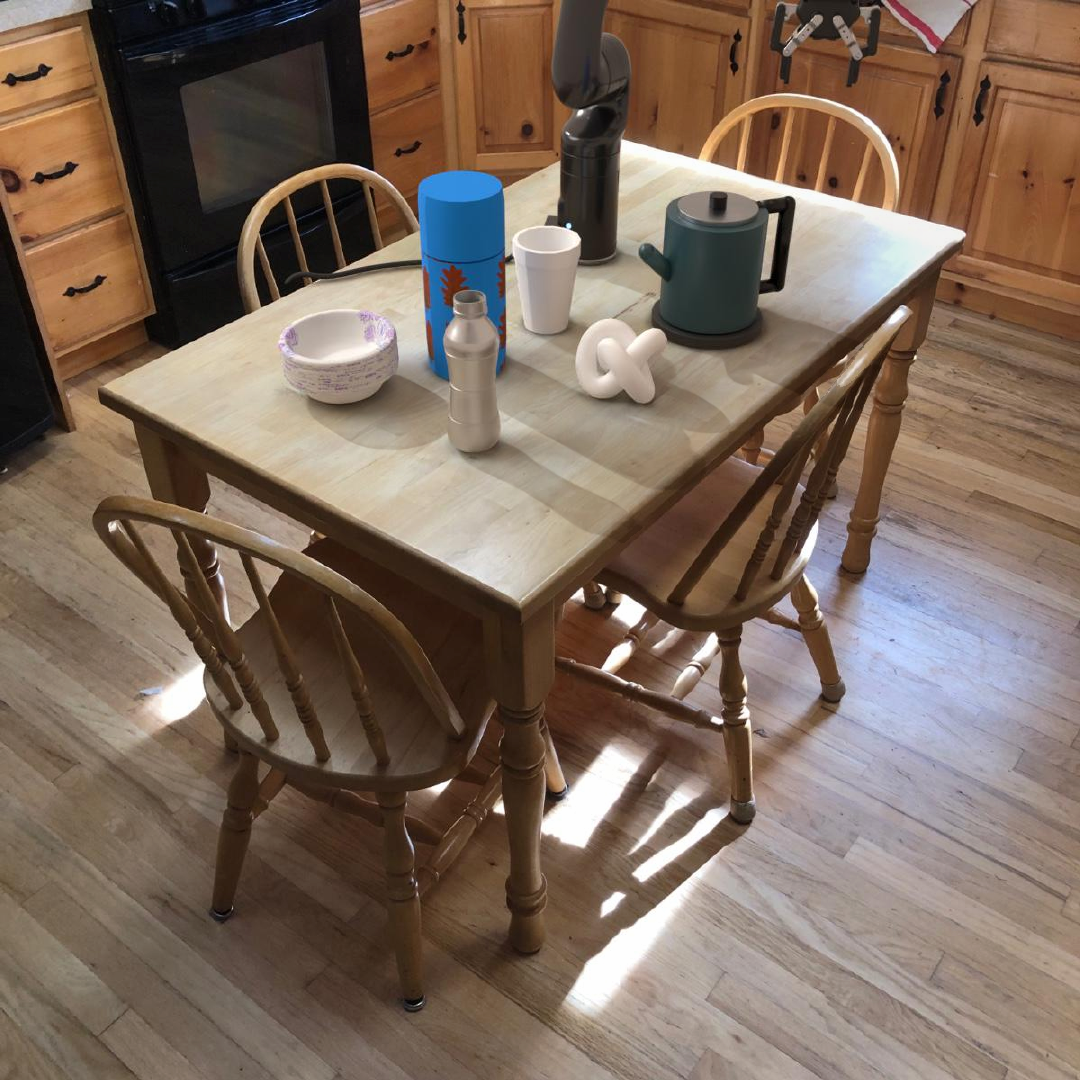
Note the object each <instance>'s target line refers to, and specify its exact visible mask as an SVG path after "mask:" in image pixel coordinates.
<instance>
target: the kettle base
mask: <svg viewBox="0 0 1080 1080" xmlns="http://www.w3.org/2000/svg"><path fill="white" fill-rule="evenodd" d="M659 302H660V298H658V299H657V301H656V302H654V304H653V306H652V308H651V319H650V321H651V326H652V328H656V329H660V330H661V331H663V332H664V333H665V336H666V339H667V341H668V342H672V343H674V344H677V345H680V346H683V347H688V348H694V349H700V350H726V349H733V348H737V347H740V346H743V345H746V344H748V343H751V342H752V341H754V340H755V339H756V338H758V336H759V335H760V334H761V331H762V328H763V323H764V322H763V321H764V314H763V313H762V309H761V308H760V307H759V305H758V306H757V314H756V318H755V320H754V321H753V323H752V324H750V325H749V326H747V327H746V328H744V329H741V330H738V331H735V332H730V333H723V334H703V333H696V332H691V331H687V330H683V329H680V328H678V327H675V326H673V325H671V324H670V323H668V322H667V321H666V320H664V319H663V317H662V316H661V314H660V312H659Z"/></svg>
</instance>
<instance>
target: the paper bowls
mask: <svg viewBox="0 0 1080 1080" xmlns="http://www.w3.org/2000/svg"><path fill="white" fill-rule="evenodd" d="M277 346H278V352H279V359H280V362H281V363H280V364H281V369H282V372H283V376H284V379H285V380H286V382H288V383H289V385H291V386H292V387H293V388H296V389H297V390H299V391H301V392H304V393H306V395H307V396H309V397H310V398H312V399H313V400H316V401H318V402H321V403H325V404H332V405H345V404H353V403H356V402H360V401H362V400H363V401H364V400H366V399H367V398H369V397H371V396H373V395H374V394H376V393H377V392H378V391H379V389H381V387H382V385H383V384H384V383H385V382H386V381H388V380H389V379H390V378H391V377H392V376H394V374H395V373H396V372H397V369H398V368H399V363H400V362H399V361H400V358H399V357H400V356H399V347H398V336H397V331H396V328H395V326H394V324H393V323H392V322H391V321H390V320H389V319H387V317H384V316H382V315H381V314H379V313H376V312H373V311H369V310H364V309H357V308H356V309H355V308H338V309H335V308H334V309H327V310H322V311H317V312H315V313H311V314H308V315H305V316H303V317H300V318H298V319H297V320H294V321H293V322H292V323H290V324H289V325H287V326H286V327H285V329H283V330H282V332H281V334H280V335H279V338H278V341H277Z"/></svg>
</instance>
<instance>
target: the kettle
mask: <svg viewBox="0 0 1080 1080" xmlns="http://www.w3.org/2000/svg"><path fill="white" fill-rule="evenodd" d="M796 205H797V201H796V199H795V198H794V197H793V196H792V195H785V196H782V197H774V198H768V199H761V200H757V201H756V200H754V199H752V198H750V197H748V196H746V195H743V194H739V193H736V192H731V191H723V190H702V191H695V192H692V193H688V194H686V195H685V194H684V195H682V196H679V197H677V198H674V199H673V200H671V201H669V203H668V204H667V205H666V207H665V219H664V220H665V221H664V233H663V246H662V247H663V248H662V252H661V251H660V250H659V249H657V247H656V246H654V245H653V244H652V243H650V242H645V243H642V244H640V246H639V248H638V251H637V254H638V257H639V258H640V259H641V260H642V261H643V262H644V263H645V264H646V265H647V266H648V267H649V268H650V269H651V270H653V271H654V272H655V273H656V274H657V275H658V276H659V277H660V287H659V289H660V291H659V299H660V302H659V312H660V314H661V316H662V317H663V319H664V320H666V321H667V322H668V323H670V324H671V325H673V326H675V327H678V328H680V329H683V330H687V331H691V332H696V333H703V334H723V333H730V332H735V331H738V330H741V329H744V328H746V327H747V326H749V325H750V324H752V323H753V321H754V320H755V318H756V314H757V306H758V307H759V297H760V295H765V294H771V293H780V292H782V291H783V290H784V288H785V284H786V277H787V269H788V261H789V255H790V249H791V241H792V236H793V235H792V233H793V227H794V219H795V212H796ZM773 214H778V215H777V221H776V222H777V223H776V228H775V229H776V230H775V237H774V244H773V251H772V252H773V253H772V261H771V267H770V274H769V278H765V279H762V274H763V264H764V258H765V250H766V241H767V233H768V225H769V219H770V215H773Z"/></svg>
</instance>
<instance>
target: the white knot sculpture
mask: <svg viewBox="0 0 1080 1080" xmlns="http://www.w3.org/2000/svg"><path fill="white" fill-rule="evenodd" d="M667 341H668V340H667V339H666V336H665V333H664V332H663V331H661V330H660V329H656V328H653V327H652V328H649V329H647V330H645V331H643V332H641V333H640V334H639V335H638V336H637V334H636V333H635V331H634V330H633V329H632V328H631V327H630V326H629V325H628V324H627V323H625V322H624V321H622V320H619V319H616V318H604V319H600V320H598V321H596V322H595V323H593V324H592V325H590V326H589V327H588V328H587V329H586V331H585V332H584V334H583V335H582V337H581V339H580V341H579V343H578V344H577V345H578V346H577V349H576V353H575V372H576V378H577V381H578V383H579V385H580V387H581V388H582V389H583V391H584V392H585V393H586V394H587V395H589V396H591V397H593V398H597V399H609V398H613V397H615V396H617V395H618V394H619V393H621V392H622V391H625V392H626V394H628V396H629V397H630V398H631V399H632V400H633V401H634V402H635V403H638V404H643V405H644V404H647V403H650V402H652V401H653V399H654V398H655V393H656V386H655V382H654V377H653V375H652V373H651V370H650V368H649V367H650V366H652V364H653V363H655V361H657V359H659V357H660V356H661V355H662V353H664V350H665V349H666V346H667ZM598 364H599V367H600V369H601V371H602V372H603V374H604V375H602V374H601V373H600V371H599V367H598Z"/></svg>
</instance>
